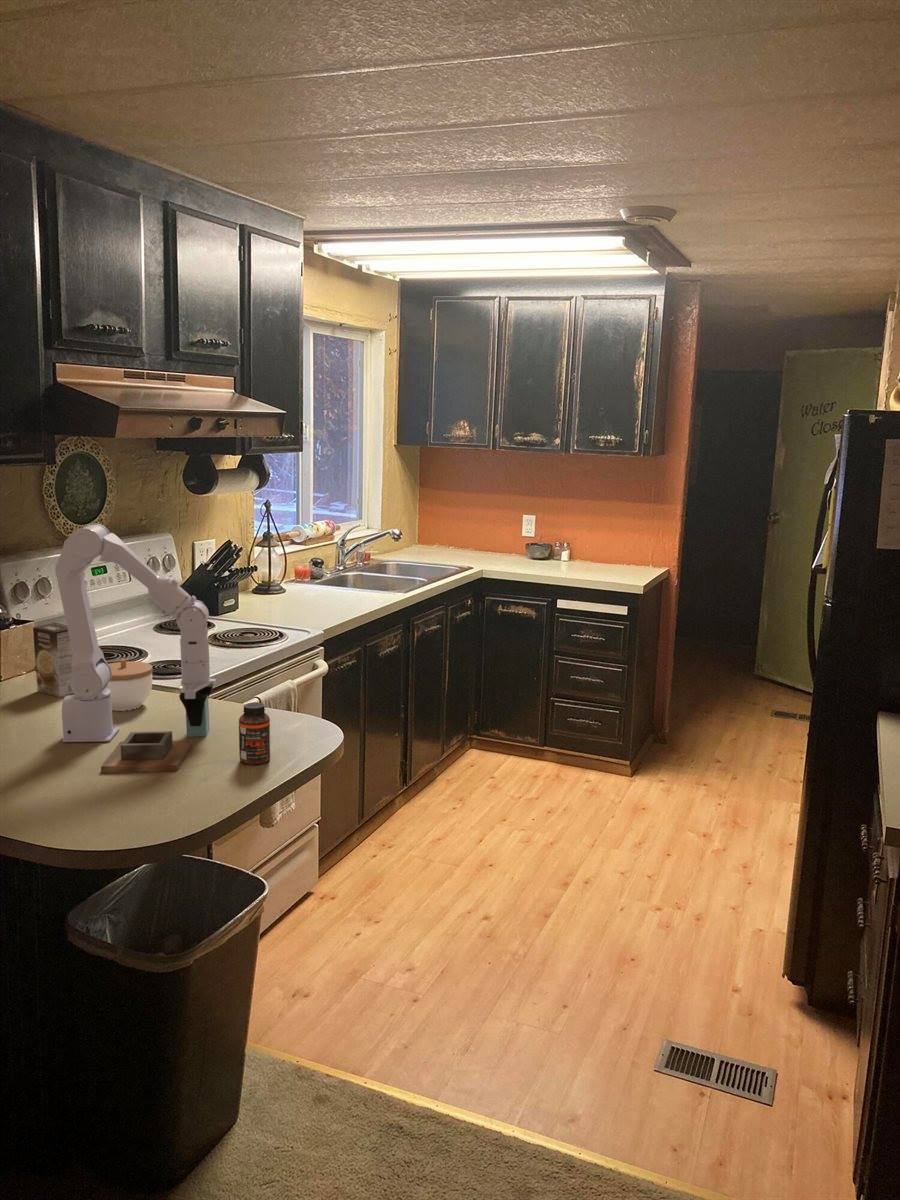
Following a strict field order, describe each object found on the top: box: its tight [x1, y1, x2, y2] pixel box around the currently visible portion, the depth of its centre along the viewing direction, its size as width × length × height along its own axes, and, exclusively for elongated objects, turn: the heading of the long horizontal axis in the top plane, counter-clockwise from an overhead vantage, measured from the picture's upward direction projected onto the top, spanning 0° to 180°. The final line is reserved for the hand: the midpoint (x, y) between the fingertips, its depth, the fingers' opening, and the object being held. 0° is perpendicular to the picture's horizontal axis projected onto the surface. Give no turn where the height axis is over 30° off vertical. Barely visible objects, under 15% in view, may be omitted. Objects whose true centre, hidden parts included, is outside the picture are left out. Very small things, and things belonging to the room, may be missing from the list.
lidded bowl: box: [107, 658, 153, 712], centre depth 220 cm, size 13×13×11 cm
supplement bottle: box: [238, 701, 271, 766], centre depth 187 cm, size 6×6×11 cm
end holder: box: [100, 730, 192, 773], centre depth 188 cm, size 14×14×4 cm
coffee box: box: [32, 622, 74, 698], centre depth 231 cm, size 9×6×16 cm
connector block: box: [185, 696, 210, 737], centre depth 202 cm, size 4×4×8 cm
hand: (197, 722), depth 203 cm, fingers closed on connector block, 4 cm apart
